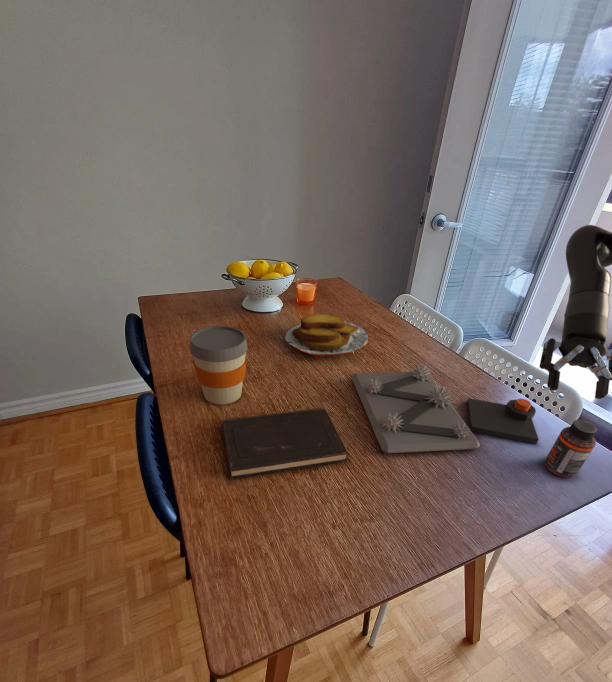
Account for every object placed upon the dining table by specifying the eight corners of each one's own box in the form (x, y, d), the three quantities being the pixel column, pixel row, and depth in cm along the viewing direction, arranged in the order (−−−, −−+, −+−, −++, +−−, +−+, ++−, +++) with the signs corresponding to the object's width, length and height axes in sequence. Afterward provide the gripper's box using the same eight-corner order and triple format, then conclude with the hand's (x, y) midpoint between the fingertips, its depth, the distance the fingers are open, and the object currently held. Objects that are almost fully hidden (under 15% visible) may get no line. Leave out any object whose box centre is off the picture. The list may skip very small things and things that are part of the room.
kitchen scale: (527, 412, 97) (532, 402, 95) (539, 444, 87) (544, 434, 85) (466, 401, 99) (469, 391, 98) (470, 431, 89) (474, 421, 88)
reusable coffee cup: (255, 403, 94) (254, 345, 85) (201, 413, 89) (194, 354, 81) (241, 376, 103) (238, 322, 94) (192, 384, 99) (184, 328, 90)
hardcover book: (346, 461, 79) (348, 452, 78) (230, 479, 74) (229, 470, 72) (323, 414, 92) (323, 406, 90) (221, 426, 86) (221, 418, 85)
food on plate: (327, 372, 107) (329, 350, 103) (268, 339, 121) (268, 319, 117) (384, 345, 122) (387, 325, 118) (325, 318, 136) (327, 300, 132)
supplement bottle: (539, 456, 84) (563, 413, 77) (570, 461, 83) (596, 418, 76) (547, 476, 79) (573, 432, 72) (580, 482, 78) (608, 438, 71)
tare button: (526, 405, 94) (529, 399, 93) (529, 413, 92) (532, 407, 91) (512, 403, 95) (515, 397, 94) (514, 410, 92) (517, 404, 91)
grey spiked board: (349, 379, 105) (353, 355, 100) (427, 377, 108) (433, 354, 103) (382, 457, 81) (388, 430, 77) (480, 452, 84) (491, 426, 80)
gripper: (557, 306, 80) (547, 383, 77) (636, 316, 77) (627, 396, 75) (541, 320, 87) (531, 391, 85) (612, 331, 85) (604, 404, 82)
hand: (576, 394), depth 80 cm, fingers open, 8 cm apart
